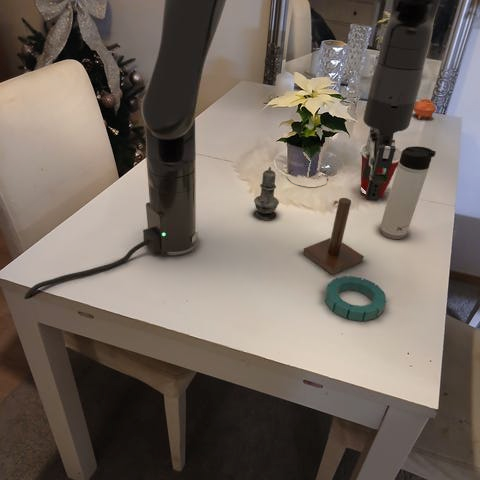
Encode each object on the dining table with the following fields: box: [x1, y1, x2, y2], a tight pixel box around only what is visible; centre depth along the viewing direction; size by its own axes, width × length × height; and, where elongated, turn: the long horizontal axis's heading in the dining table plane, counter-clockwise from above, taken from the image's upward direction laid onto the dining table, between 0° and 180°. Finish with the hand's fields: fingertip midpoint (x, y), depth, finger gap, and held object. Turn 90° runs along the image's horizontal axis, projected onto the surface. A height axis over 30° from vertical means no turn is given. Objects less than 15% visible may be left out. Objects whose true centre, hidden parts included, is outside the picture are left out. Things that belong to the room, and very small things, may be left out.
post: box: [302, 197, 364, 276], centre depth 98 cm, size 9×9×14 cm
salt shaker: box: [253, 166, 280, 221], centre depth 111 cm, size 6×6×12 cm
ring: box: [324, 275, 387, 322], centre depth 91 cm, size 11×11×2 cm
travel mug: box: [379, 146, 437, 240], centre depth 105 cm, size 6×7×20 cm
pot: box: [413, 98, 437, 120], centre depth 173 cm, size 8×8×7 cm
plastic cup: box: [359, 143, 403, 200], centre depth 122 cm, size 11×11×12 cm
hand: (369, 188), depth 87 cm, fingers open, 8 cm apart
